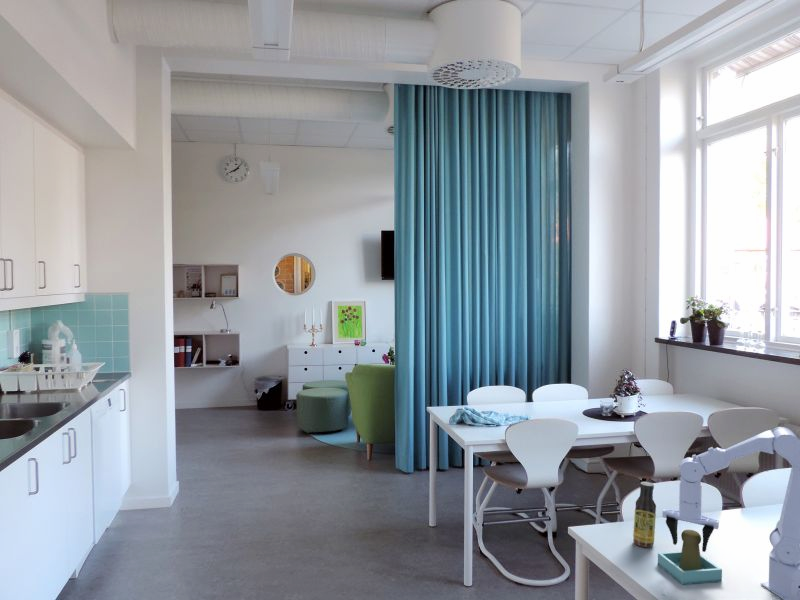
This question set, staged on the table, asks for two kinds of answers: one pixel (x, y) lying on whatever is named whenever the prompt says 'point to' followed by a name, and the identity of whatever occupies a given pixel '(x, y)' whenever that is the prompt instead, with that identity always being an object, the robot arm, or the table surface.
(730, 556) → the table surface
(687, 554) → the cork
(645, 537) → the sauce bottle
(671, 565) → the teal bin
